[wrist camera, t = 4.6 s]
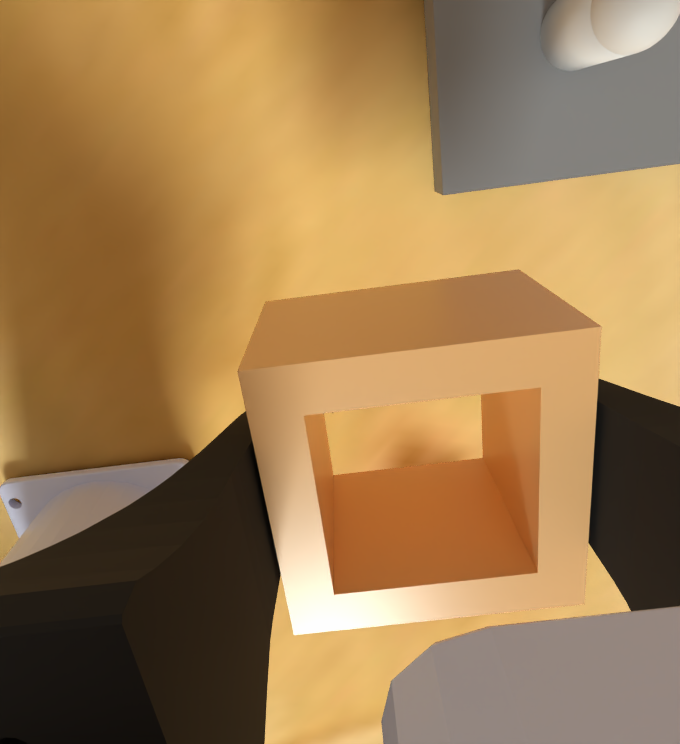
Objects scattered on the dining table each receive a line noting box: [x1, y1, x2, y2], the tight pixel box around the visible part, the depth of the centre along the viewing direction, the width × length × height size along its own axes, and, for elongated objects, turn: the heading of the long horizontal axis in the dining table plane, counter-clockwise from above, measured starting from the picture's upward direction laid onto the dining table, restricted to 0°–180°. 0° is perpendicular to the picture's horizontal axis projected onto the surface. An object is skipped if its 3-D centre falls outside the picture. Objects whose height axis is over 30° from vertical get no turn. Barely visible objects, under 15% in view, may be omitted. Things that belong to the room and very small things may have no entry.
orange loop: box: [238, 270, 602, 635], centre depth 11 cm, size 6×6×4 cm
